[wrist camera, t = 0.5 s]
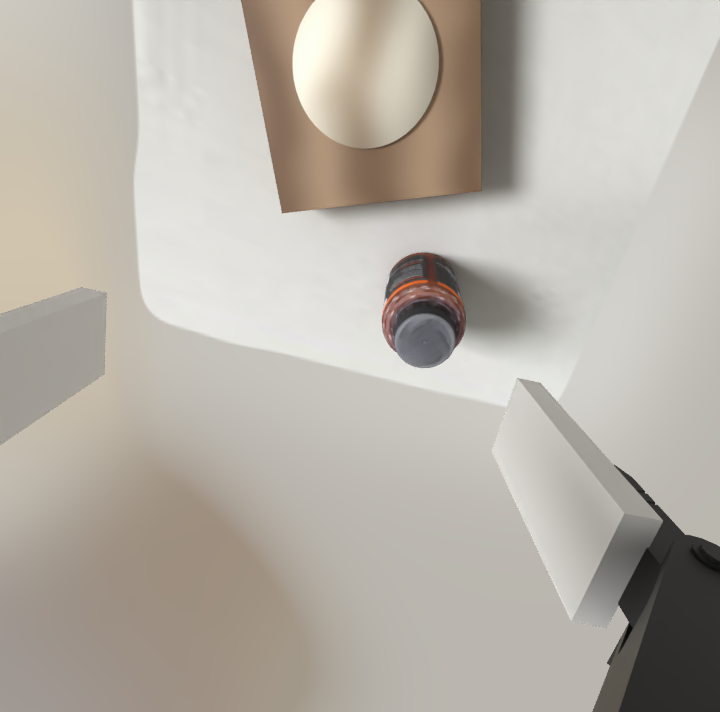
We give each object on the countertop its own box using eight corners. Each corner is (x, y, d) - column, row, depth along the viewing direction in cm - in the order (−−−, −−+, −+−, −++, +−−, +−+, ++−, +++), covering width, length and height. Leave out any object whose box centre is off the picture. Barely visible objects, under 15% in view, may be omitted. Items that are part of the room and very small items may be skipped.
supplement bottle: (373, 291, 41) (359, 349, 31) (414, 236, 38) (415, 279, 28) (427, 329, 42) (431, 396, 32) (471, 278, 39) (490, 333, 29)
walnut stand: (469, -93, 28) (480, -134, 24) (473, 181, 36) (482, 191, 31) (253, -49, 31) (223, -80, 26) (297, 201, 38) (280, 214, 33)
